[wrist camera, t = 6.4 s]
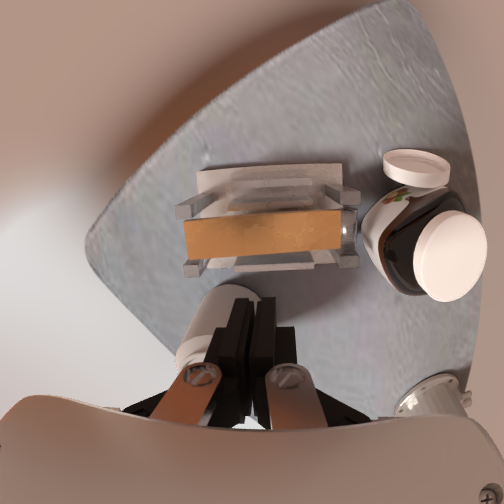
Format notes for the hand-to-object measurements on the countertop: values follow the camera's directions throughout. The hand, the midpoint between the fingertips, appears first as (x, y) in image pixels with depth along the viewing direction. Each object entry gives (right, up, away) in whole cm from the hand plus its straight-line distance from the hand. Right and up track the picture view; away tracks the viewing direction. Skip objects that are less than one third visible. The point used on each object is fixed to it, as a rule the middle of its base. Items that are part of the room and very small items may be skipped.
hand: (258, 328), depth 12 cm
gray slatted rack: (+2, +7, +16) cm, 18 cm away
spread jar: (+15, +8, +15) cm, 23 cm away
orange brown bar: (+1, +5, +10) cm, 11 cm away
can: (-2, -3, +20) cm, 21 cm away
